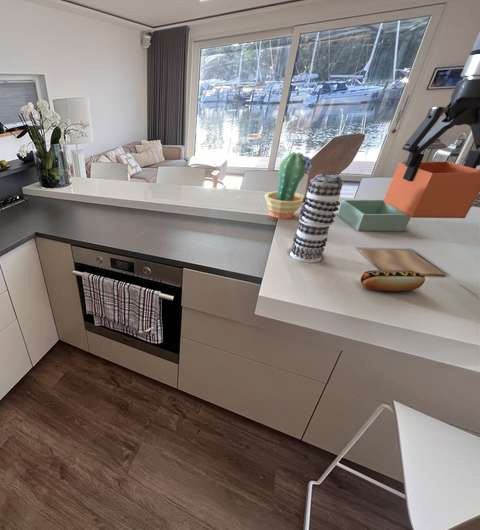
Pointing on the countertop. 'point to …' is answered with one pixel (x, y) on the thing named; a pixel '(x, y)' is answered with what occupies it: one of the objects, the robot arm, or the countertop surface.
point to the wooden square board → (400, 261)
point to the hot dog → (392, 280)
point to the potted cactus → (288, 186)
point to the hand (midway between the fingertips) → (434, 179)
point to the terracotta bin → (434, 190)
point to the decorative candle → (316, 217)
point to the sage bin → (373, 215)
